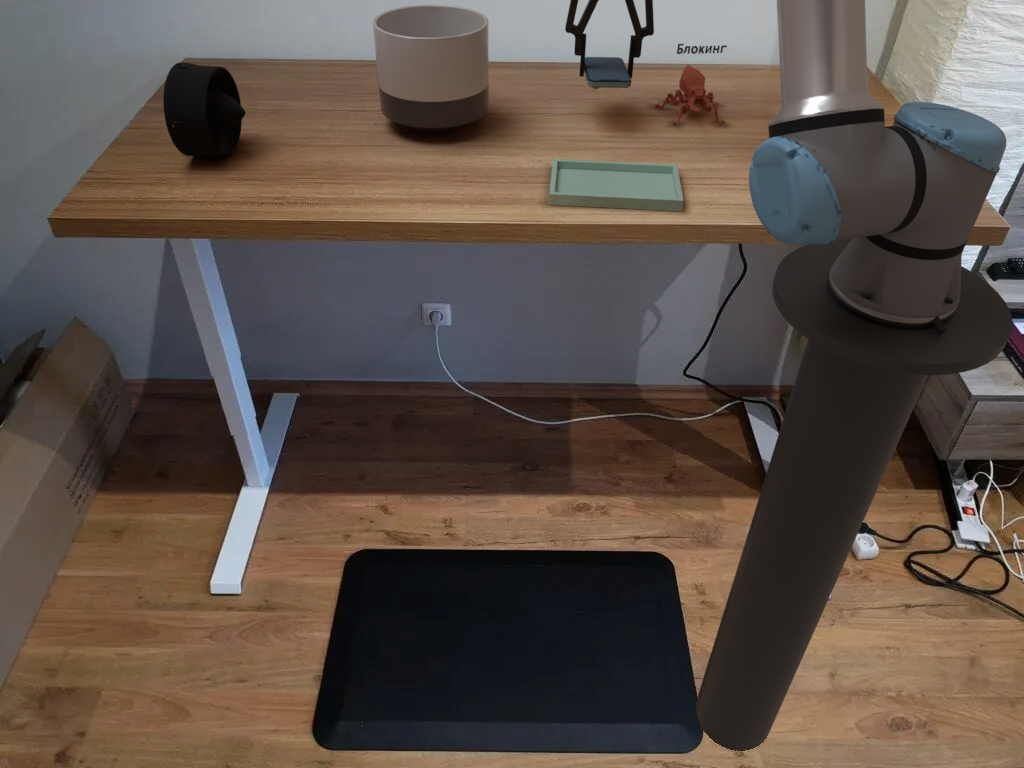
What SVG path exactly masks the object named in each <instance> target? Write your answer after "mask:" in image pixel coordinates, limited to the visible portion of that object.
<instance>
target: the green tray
mask: <svg viewBox="0 0 1024 768" xmlns="http://www.w3.org/2000/svg"><path fill="white" fill-rule="evenodd" d="M681 183H682V182H681V178H680V172H679V166H678V164H676V163H654V162H653V163H652V162H651V163H650V162H631V161H611V160H610V161H609V160H608V161H607V160H589V159H588V160H587V159H566V158H552V165H551V174H550V183H549V184H550V185H549V192H548V205H550V206H567V207H587V208H604V209H605V208H608V209H627V210H647V211H648V210H649V211H667V212H668V211H669V212H683V208H684V195H683V190H682V189H683V188H682V184H681Z"/></svg>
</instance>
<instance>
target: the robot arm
mask: <svg viewBox="0 0 1024 768" xmlns="http://www.w3.org/2000/svg"><path fill="white" fill-rule="evenodd" d="M599 1H600V0H588V1H587V4H586V6H585V8H584V11H583V12H582V14H581V17H580V19H579V21H578V23H577V24H575V19H576V13H577V10H578V9H577V8H578V4H579V0H570V3H569V5H568V11H567V17H566V22H565V33H567V34H571V35H573V36H574V52H573V53H574V55H575V56H576V57H578V56H579V57H580V59H579V60H580V61H579V62H580V63H579V77H581V78H582V77H583V78H584V77H585V72H584V65H585V57H586V48H587V33H584V32H585V30H586V28H587V26H588V24H589V22H590V19H591V18H592V15H593V13H594V12H595V9H596V7H597V5H598V2H599ZM624 3H625V4H626V5H625V6H626V8H627V11H628V15H629V18H630V22H631V25H632V28H633V32H634V34H631V35H630V40H629V51H628V62H627V71H628V74H629V76H630V79H633V72H634V63H635V58H638V59H640V58H641V55H642V47H643V40H644V38H647V37H649V36H653V35H654V33H655V22H654V0H644V8H645V9H644V11H645V26H642V24H641V20H640V18H639V15H638V11H637V8H636V4H635V1H634V0H624ZM776 15H777V33H778V34H777V35H778V54H779V56H778V57H779V73H780V92H781V93H780V95H781V106H780V108H779V110H777V112H776V114H775V115H774V116H773V117H772V118H771V120H770V121H769V122H768V138H767V139H766V140H764V141H763V142H762V143H760V144H759V145H758V147H756V149H755V151H754V153H753V155H752V157H751V161H752V164H750V165H749V171H748V186H749V187H748V188H749V194H750V198H751V202H752V206H753V209H754V211H755V213H756V216H757V218H758V220H759V221H760V223H761V225H762V226H763V227H765V229H766V231H767V232H768V233H769V234H770V236H772V237H773V238H774V239H776V240H777V241H779V242H780V243H783V244H786V245H790V246H806V245H809V244H815V245H817V244H822V245H824V244H828V243H831V242H832V241H838V240H845V239H852V240H851V241H850V243H849V244H848V245H847V246H846V248H845V249H844V250H843V252H842V253H841V254H840V256H839V257H838V258H837V260H836V261H835V262H834V264H833V265H832V267H831V270H830V273H829V276H828V280H827V289H828V291H829V294H830V295H831V297H832V298H833V299H834V300H835V301H836V302H837V303H838V304H839V305H840V306H841V307H842V308H844V309H845V310H847V311H848V312H850V313H852V314H853V315H855V316H857V317H859V318H861V319H864V320H866V321H869V322H872V323H875V324H878V325H882V326H886V327H891V328H897V329H906V330H921V329H929V328H935V329H936V331H937V333H938V334H941V333H943V332H945V331H946V329H945V327H944V325H943V324H945V323H946V322H948V321H949V320H950V319H951V318H952V317H953V315H954V313H955V311H956V308H957V306H958V304H959V301H960V291H961V266H962V259H963V258H962V257H963V256H962V255H963V252H964V250H965V247H966V245H967V242H968V240H969V239H970V235H971V234H972V232H973V229H974V227H975V224H976V222H977V220H978V218H979V215H980V213H981V211H982V208H983V206H984V204H985V202H986V200H987V197H988V195H989V192H990V191H991V188H992V186H993V183H994V182H995V179H996V176H997V174H999V172H1000V170H1001V167H1000V165H1001V163H1002V159H1003V157H1004V154H1005V151H1006V148H1007V137H1006V134H1005V132H1004V131H1003V129H1001V127H999V126H998V125H997V124H996V123H993V122H992V121H990V120H989V119H986V118H984V117H983V116H980V115H979V114H976V113H973V112H970V111H969V110H964V109H961V108H958V107H954V106H950V105H945V104H941V103H936V102H927V101H910V102H907V103H904V104H903V105H901V106H900V108H899V109H898V111H897V113H895V114H894V116H893V124H892V125H887V126H885V125H886V123H885V122H886V120H885V119H886V118H885V106H884V104H882V103H881V102H880V101H878V100H877V99H876V98H875V97H873V96H872V95H871V93H870V92H869V86H868V85H869V84H868V54H867V53H868V51H867V22H866V21H867V20H866V0H776Z"/></svg>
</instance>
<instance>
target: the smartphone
mask: <svg viewBox="0 0 1024 768" xmlns="http://www.w3.org/2000/svg"><path fill="white" fill-rule="evenodd" d="M584 77H585V80H586V82H587V83H586V84H587V86H588V87H590V88H592V89H594V90H597V89H628V88H630V87H631V86H632V78H630V76H629V74H628V68H627V67H626V65H625V61H624V59H623V58H622V57H619V56H618V57H614V56H613V57H612V56H585V65H584Z"/></svg>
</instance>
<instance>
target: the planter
mask: <svg viewBox="0 0 1024 768" xmlns="http://www.w3.org/2000/svg"><path fill="white" fill-rule="evenodd" d="M372 31H373V39H374V41H373V42H374V51H375V61H376V62H375V65H376V74H377V84H378V95H379V106H380V111H381V114H382V115H383V116H384V117H385V118H387V119H388V120H390V121H392V122H394V123H397V124H400V125H403V126H406V127H409V128H411V129H413V130H417V131H421V132H425V133H444V132H449V131H452V130H456V129H458V128H460V127H463V126H465V125H466V124H470V123H473V122H475V121H478V120H479V119H481V118H483V117H484V116H485V115H486V114H487V113H488V111H489V109H490V77H489V75H490V69H489V68H490V67H489V60H490V59H489V58H490V57H489V51H490V50H489V45H490V44H489V19H488V17H486V15H485V14H483V13H481V12H480V11H477V10H475V9H472V8H467V7H463V6H458V5H457V6H456V5H449V4H416V5H407V6H400V7H396V8H392V9H389V10H386V11H384V12H381V13H380V14H377V16H375V17H374V19H373V20H372Z"/></svg>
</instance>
